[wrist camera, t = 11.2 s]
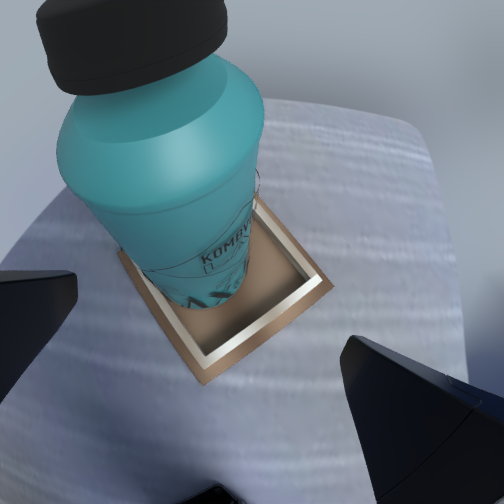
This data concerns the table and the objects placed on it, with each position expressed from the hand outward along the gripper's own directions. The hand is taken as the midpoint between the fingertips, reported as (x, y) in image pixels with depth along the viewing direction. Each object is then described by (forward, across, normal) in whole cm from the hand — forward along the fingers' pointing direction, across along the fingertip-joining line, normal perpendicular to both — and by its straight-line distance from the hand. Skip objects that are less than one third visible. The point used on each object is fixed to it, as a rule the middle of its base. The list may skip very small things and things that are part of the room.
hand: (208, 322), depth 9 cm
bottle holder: (+13, 0, -4) cm, 14 cm away
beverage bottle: (+13, -1, -4) cm, 13 cm away
